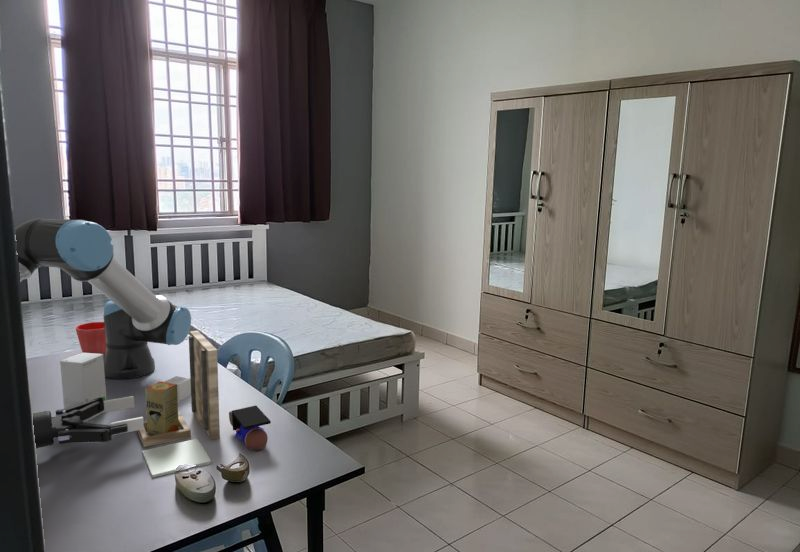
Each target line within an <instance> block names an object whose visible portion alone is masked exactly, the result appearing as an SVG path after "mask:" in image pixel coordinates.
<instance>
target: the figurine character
mask: <svg viewBox="0 0 800 552" xmlns="http://www.w3.org/2000/svg"><path fill="white" fill-rule="evenodd" d="M228 421H229V422H230V425H231V426H232V431H235V434H234V436H235V437H236V438H239V439H240V440H242V441H244V444H245V446H246V447H247V449H249V450H251V451H260V450H262V449H264V448H265V447H266V445H267V443H268V439H269V438H268V434H267V432H266V431H265V430H264V428H263V427H261V426H265V425H270V424H271V423H272V421H271V420H270V418H268V417H267V415H265V413H264V412H263V411H262V410H261V409H260V408H259V407H258V406H257V405H253V406H248V407H247V406H246V407H242V408H238V409H233V410H231V411H229V412H228Z"/></svg>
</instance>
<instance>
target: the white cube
mask: <svg viewBox="0 0 800 552" xmlns="http://www.w3.org/2000/svg"><path fill="white" fill-rule="evenodd" d="M164 382H166V383H172V384H177V398H178V402H181V401H183V400H185V399H187V398H188V397H191V382H190V377H182V376H177V375H175V376H173V377H171V378H169V379H167V380H165V381H164Z"/></svg>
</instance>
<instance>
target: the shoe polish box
mask: <svg viewBox="0 0 800 552" xmlns="http://www.w3.org/2000/svg"><path fill="white" fill-rule="evenodd" d="M144 390H145V391H144V392H145V394H144V395H145V410H146V421H147V430H146V432H147V435H148V437H149V436H154V435H159V434H163V433H168V432H173V431H178V430H180V427H179V421H178V414H179V406H178V405H179V404H178V403H179V401H178V398H177V384H172V383H166V382H165V381H158V382H156V383H154V384H151V385H150V386H148V387H146V388H144Z"/></svg>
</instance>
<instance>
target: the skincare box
mask: <svg viewBox="0 0 800 552" xmlns="http://www.w3.org/2000/svg"><path fill="white" fill-rule="evenodd" d="M103 359H104V355H103V354H96V353H82V352H81V353H79V354H75V355H72V356H69V357H67V358H64V359H61V360H60V361H59V364H60V375H61V387H62V398H63V399H62V400H63V409H65V408H68V407H71V406H74V405H77V404H80V403H83V402H86V401H89V400H92V399H95V398H99V397H103V402H104V401H106V400H107V391H106V390H107V389H106V377H105V374H104V360H103ZM104 413H105V412H104V411H102V412H100V413H98V414H96V415H94V416H92V417H90V418H88V419H86V420H84V421H83V422H84V423H88V422H89V421H91V420H93V419H94V418H96V417H98V416H100V415H101V414H104Z"/></svg>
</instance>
